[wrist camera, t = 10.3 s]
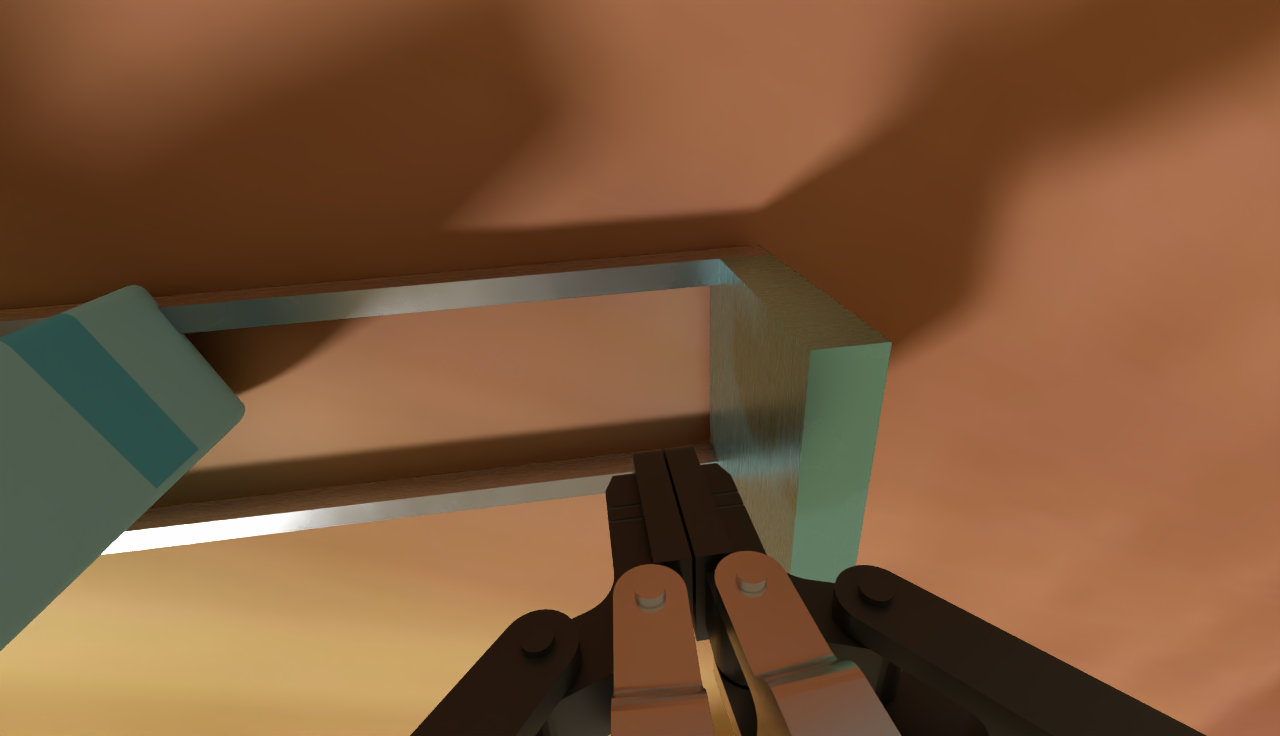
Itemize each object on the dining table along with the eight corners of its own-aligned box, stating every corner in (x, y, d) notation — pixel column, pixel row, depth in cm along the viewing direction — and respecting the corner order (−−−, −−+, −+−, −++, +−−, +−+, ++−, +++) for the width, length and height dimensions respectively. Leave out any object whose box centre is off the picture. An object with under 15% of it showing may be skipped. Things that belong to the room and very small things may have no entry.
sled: (-292, 335, 15) (-1079, 544, 8) (759, 245, 17) (891, 341, 10) (-98, 555, 19) (-513, 837, 11) (750, 455, 21) (844, 635, 14)
